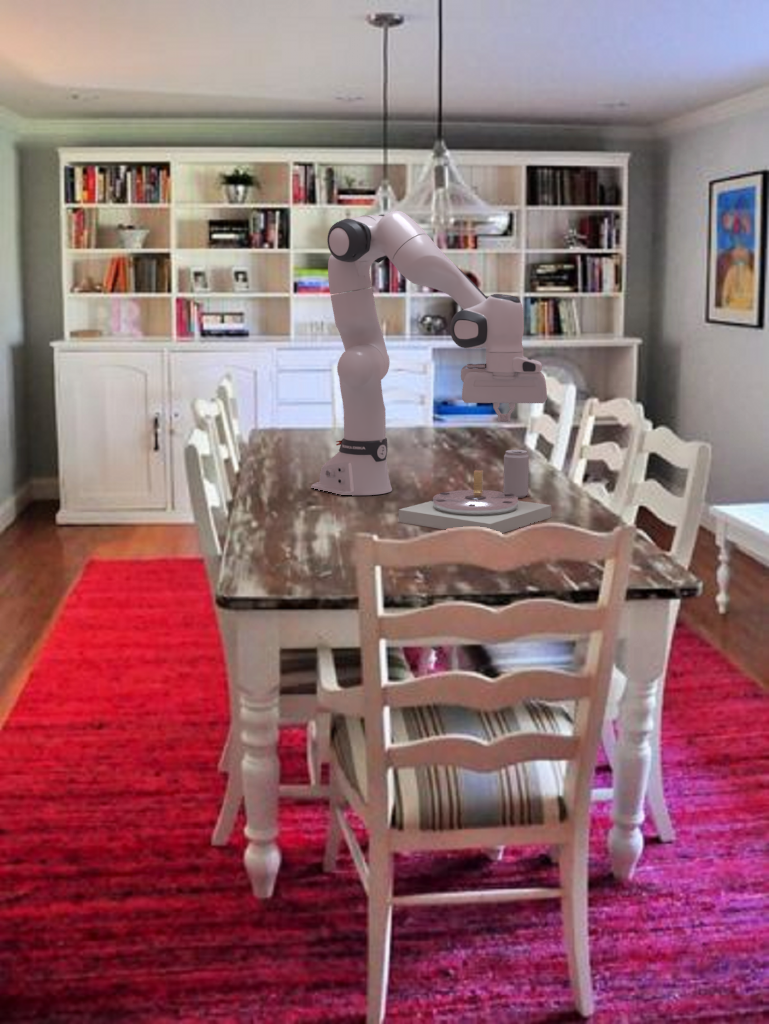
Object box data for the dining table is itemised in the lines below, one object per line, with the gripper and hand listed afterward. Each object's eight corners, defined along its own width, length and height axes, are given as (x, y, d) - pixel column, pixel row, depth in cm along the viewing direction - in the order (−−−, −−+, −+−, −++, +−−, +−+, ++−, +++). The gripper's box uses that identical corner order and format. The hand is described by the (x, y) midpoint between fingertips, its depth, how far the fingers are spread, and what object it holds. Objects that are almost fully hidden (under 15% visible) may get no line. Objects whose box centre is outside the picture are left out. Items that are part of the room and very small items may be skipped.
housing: (398, 522, 286) (398, 508, 285) (462, 504, 305) (462, 491, 305) (490, 537, 270) (490, 522, 269) (551, 517, 289) (551, 504, 289)
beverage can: (508, 499, 311) (509, 453, 309) (499, 494, 317) (500, 449, 315) (531, 497, 313) (532, 452, 310) (522, 493, 319) (523, 448, 317)
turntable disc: (416, 507, 285) (416, 478, 284) (465, 494, 301) (465, 467, 299) (486, 518, 273) (487, 488, 272) (534, 504, 288) (534, 475, 287)
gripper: (459, 364, 285) (459, 423, 288) (547, 365, 282) (546, 423, 285) (462, 362, 291) (462, 419, 294) (547, 362, 288) (546, 420, 291)
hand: (504, 421), depth 290 cm, fingers closed
